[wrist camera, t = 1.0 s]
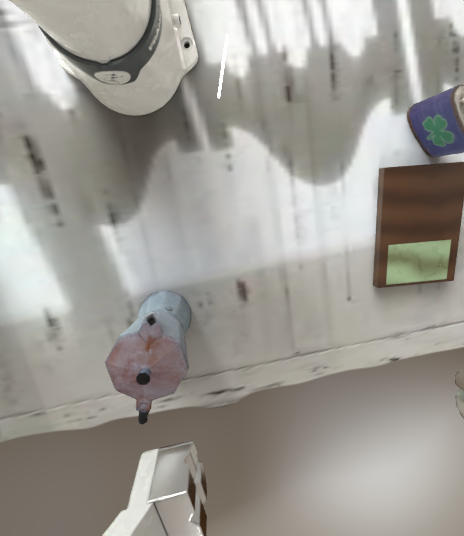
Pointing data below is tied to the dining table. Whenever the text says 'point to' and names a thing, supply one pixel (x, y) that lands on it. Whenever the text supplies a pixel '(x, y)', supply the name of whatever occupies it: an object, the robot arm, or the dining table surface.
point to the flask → (439, 122)
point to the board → (418, 224)
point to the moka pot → (152, 351)
